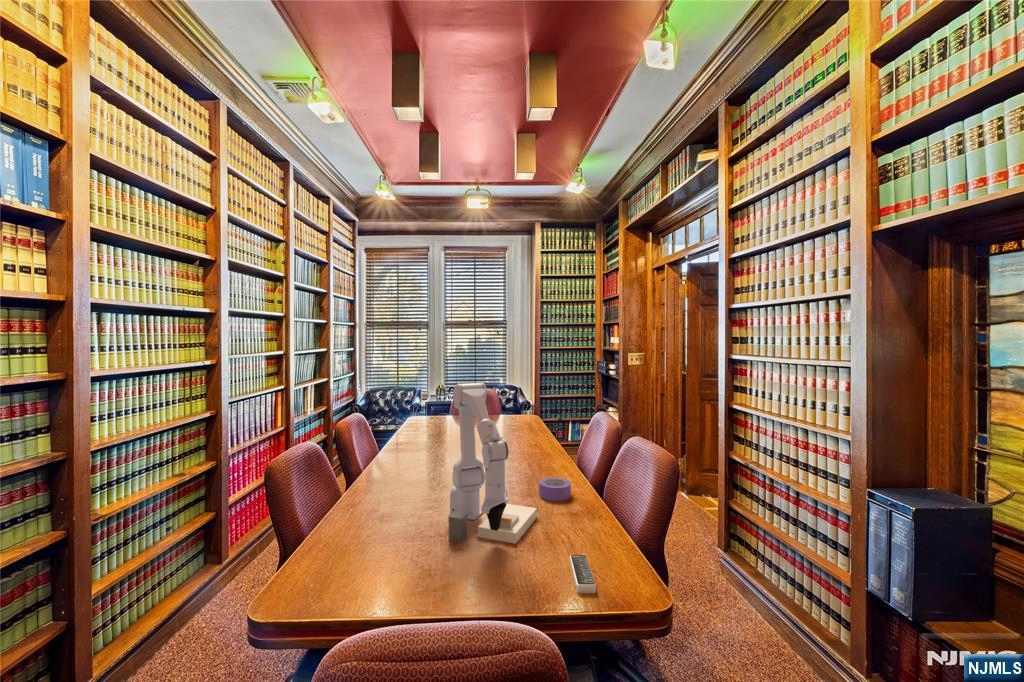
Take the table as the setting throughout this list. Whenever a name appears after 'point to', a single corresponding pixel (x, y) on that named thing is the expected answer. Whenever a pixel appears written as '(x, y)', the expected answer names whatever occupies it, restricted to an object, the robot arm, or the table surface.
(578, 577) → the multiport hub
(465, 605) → the table surface
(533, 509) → the socket plate
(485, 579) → the table surface
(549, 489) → the tape roll
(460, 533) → the plug
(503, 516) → the shutter
